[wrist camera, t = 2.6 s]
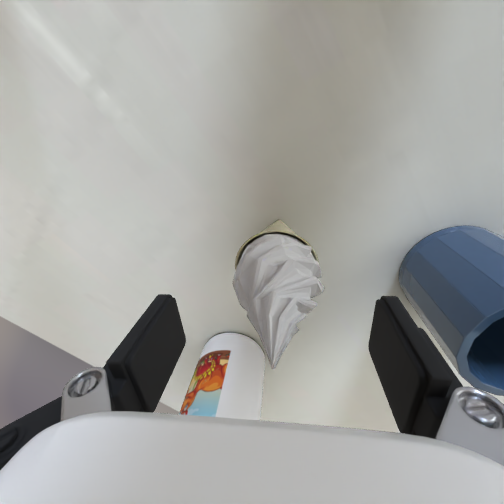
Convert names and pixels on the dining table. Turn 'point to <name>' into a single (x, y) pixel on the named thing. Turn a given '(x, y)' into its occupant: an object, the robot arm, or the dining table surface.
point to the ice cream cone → (277, 284)
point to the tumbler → (461, 299)
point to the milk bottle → (227, 379)
